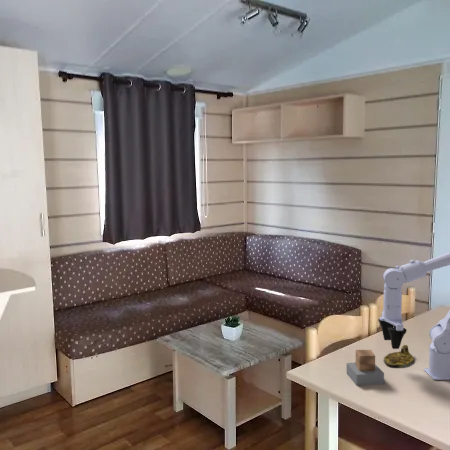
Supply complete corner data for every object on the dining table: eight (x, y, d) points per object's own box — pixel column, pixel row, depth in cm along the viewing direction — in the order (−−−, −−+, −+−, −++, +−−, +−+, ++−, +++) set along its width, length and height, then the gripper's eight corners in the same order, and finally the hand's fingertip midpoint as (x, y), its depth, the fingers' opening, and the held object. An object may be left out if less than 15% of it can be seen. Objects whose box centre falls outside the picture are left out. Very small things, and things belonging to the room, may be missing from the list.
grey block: (372, 372, 160) (372, 361, 159) (383, 384, 151) (384, 373, 150) (346, 374, 159) (346, 363, 158) (356, 386, 150) (356, 374, 150)
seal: (403, 374, 160) (418, 360, 171) (405, 362, 159) (420, 347, 170) (377, 364, 166) (393, 351, 177) (378, 352, 165) (395, 339, 176)
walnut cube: (370, 364, 157) (370, 349, 157) (375, 370, 152) (375, 355, 152) (355, 364, 157) (355, 349, 157) (359, 370, 152) (359, 355, 152)
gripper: (373, 298, 164) (372, 336, 166) (388, 311, 150) (387, 352, 152) (393, 298, 164) (392, 336, 166) (410, 311, 150) (409, 352, 152)
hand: (391, 344), depth 159 cm, fingers open, 7 cm apart
